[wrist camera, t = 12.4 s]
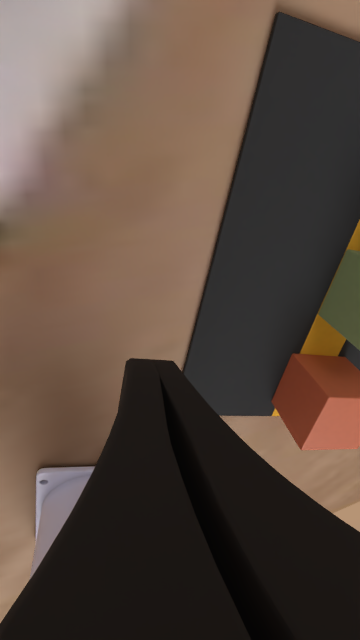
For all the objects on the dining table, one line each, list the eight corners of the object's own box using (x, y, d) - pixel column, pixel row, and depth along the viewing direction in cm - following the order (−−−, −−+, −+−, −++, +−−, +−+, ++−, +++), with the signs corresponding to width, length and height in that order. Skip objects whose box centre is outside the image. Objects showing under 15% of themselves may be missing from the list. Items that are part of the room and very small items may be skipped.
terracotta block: (320, 402, 24) (357, 449, 21) (270, 401, 23) (300, 450, 20) (345, 356, 22) (390, 399, 19) (291, 352, 21) (329, 397, 18)
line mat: (382, 414, 27) (385, 417, 27) (172, 412, 22) (173, 415, 22) (572, 125, 18) (578, 125, 17) (275, 13, 13) (279, 11, 13)
